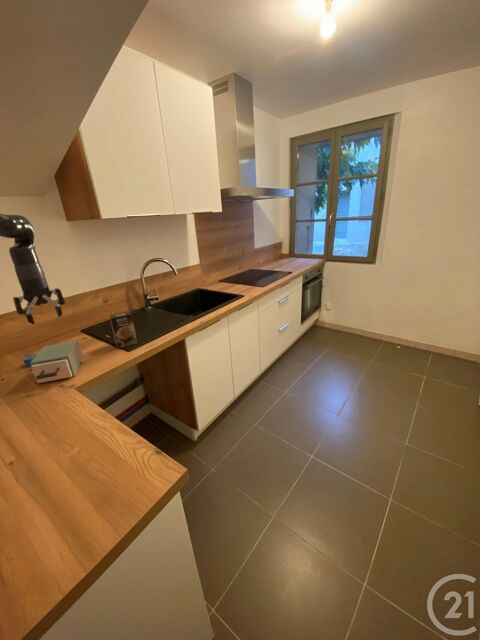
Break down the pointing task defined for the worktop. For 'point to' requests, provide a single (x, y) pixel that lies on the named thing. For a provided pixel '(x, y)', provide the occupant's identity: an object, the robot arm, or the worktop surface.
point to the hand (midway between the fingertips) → (46, 319)
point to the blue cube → (29, 360)
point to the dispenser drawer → (51, 370)
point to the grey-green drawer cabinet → (61, 355)
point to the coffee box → (123, 329)
